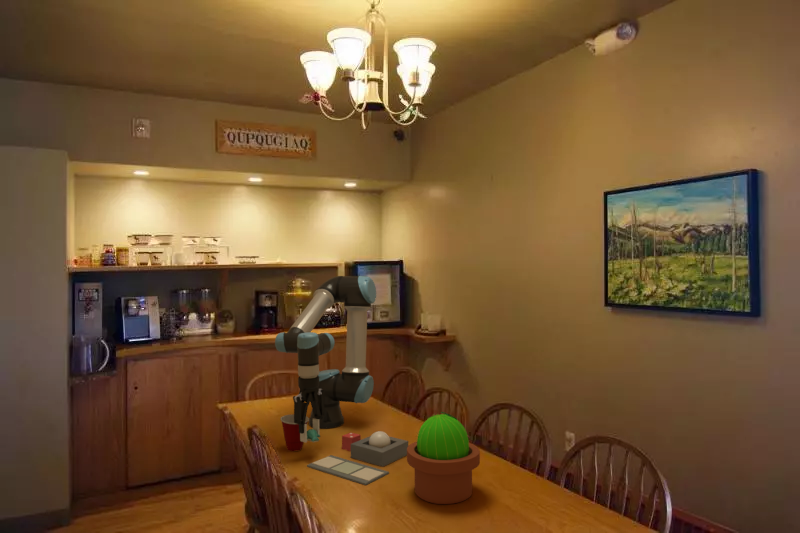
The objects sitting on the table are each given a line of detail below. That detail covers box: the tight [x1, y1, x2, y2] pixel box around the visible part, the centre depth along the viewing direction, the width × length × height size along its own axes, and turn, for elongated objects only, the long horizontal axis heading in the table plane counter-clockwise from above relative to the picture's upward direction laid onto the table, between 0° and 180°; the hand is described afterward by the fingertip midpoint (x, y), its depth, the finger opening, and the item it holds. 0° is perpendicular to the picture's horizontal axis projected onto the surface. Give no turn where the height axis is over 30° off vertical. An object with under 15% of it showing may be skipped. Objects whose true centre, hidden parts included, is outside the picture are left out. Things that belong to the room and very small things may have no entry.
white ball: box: [369, 430, 391, 449], centre depth 207 cm, size 8×8×8 cm
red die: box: [341, 432, 362, 452], centre depth 216 cm, size 5×5×5 cm
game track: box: [306, 454, 390, 486], centre depth 194 cm, size 12×27×1 cm, turn 53°
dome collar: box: [350, 435, 409, 467], centre depth 207 cm, size 15×15×5 cm
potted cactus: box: [406, 411, 481, 505], centre depth 175 cm, size 22×22×25 cm
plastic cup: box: [280, 413, 310, 452], centre depth 216 cm, size 11×11×12 cm
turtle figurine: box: [307, 428, 321, 443], centre depth 205 cm, size 6×7×4 cm
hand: (310, 438), depth 206 cm, fingers closed on turtle figurine, 6 cm apart
